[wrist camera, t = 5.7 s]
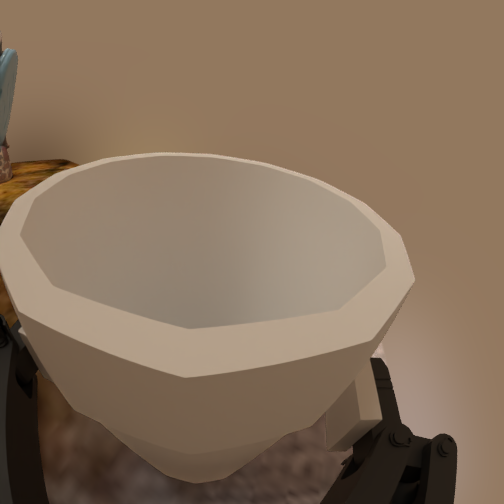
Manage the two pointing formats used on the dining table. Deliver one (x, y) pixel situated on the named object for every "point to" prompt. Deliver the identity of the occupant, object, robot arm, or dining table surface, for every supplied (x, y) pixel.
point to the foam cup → (200, 300)
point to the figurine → (5, 163)
